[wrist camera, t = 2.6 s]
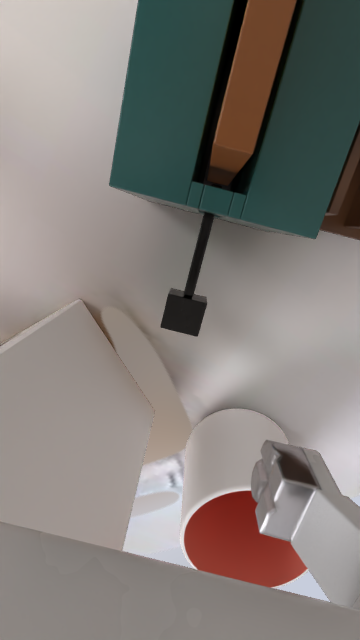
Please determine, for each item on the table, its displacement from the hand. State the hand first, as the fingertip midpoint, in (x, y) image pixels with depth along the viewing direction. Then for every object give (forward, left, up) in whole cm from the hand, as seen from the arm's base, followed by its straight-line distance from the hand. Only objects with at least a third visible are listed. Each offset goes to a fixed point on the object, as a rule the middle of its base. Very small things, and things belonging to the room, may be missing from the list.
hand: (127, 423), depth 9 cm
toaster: (-13, +1, -19) cm, 23 cm away
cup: (+14, +10, -19) cm, 25 cm away
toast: (-13, +1, -14) cm, 19 cm away
